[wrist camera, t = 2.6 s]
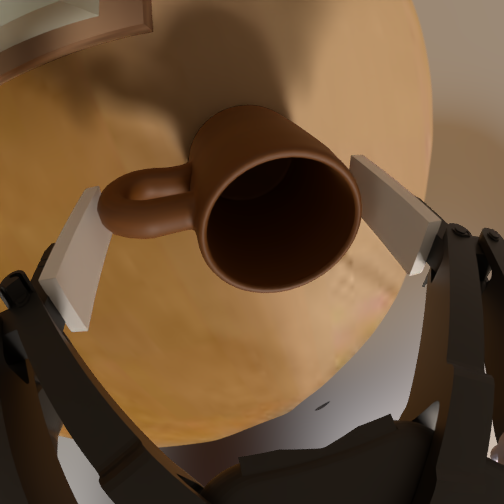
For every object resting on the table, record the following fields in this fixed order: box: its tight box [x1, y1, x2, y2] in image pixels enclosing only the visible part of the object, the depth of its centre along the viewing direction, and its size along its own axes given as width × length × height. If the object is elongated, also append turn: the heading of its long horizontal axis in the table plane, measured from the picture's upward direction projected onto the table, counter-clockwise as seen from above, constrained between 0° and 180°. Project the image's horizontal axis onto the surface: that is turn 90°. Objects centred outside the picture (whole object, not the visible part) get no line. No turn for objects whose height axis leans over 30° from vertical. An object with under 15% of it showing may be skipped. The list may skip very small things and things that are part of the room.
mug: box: [97, 105, 362, 293], centre depth 15 cm, size 12×8×9 cm, turn 82°
